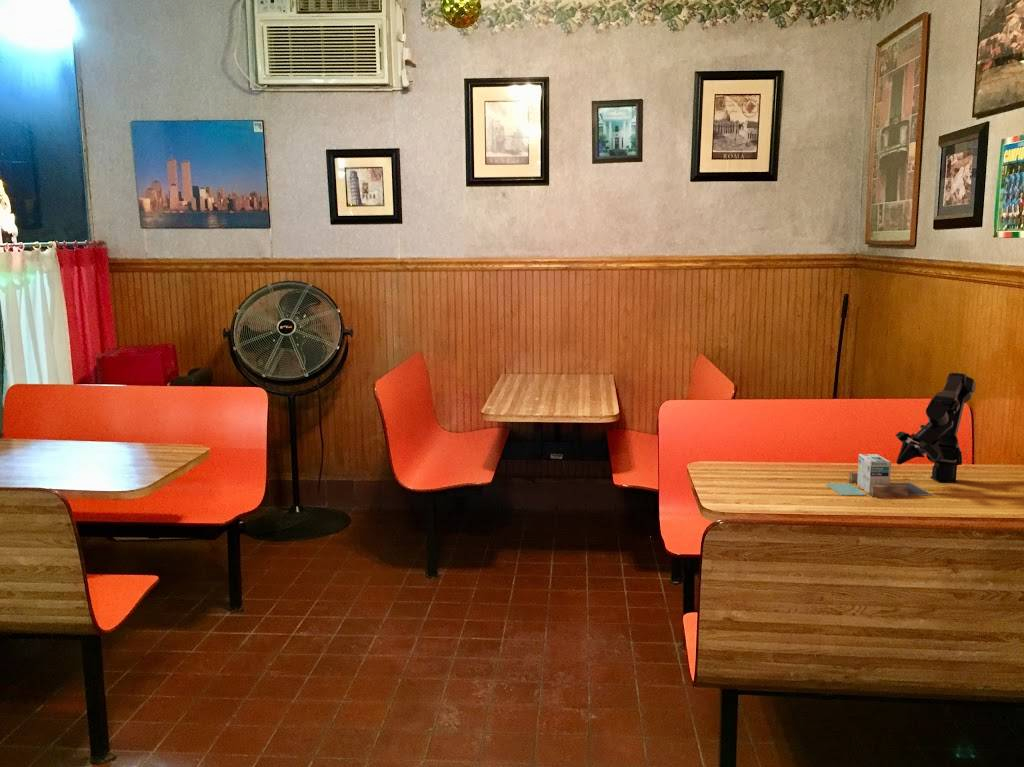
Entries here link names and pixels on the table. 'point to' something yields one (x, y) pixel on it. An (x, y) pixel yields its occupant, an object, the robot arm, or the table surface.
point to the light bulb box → (873, 471)
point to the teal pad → (845, 489)
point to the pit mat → (913, 489)
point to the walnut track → (882, 488)
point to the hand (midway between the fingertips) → (897, 463)
